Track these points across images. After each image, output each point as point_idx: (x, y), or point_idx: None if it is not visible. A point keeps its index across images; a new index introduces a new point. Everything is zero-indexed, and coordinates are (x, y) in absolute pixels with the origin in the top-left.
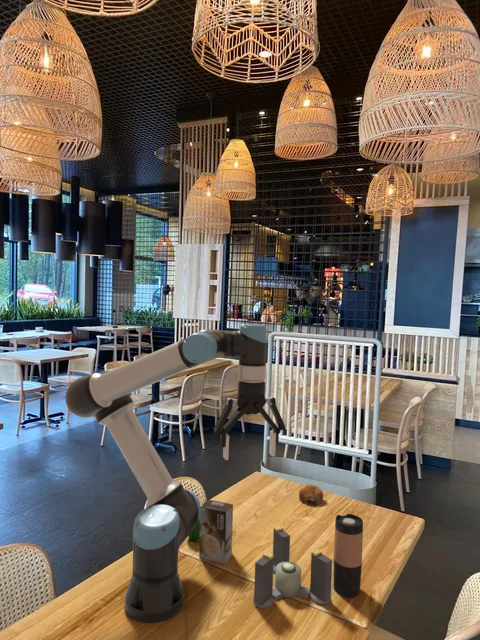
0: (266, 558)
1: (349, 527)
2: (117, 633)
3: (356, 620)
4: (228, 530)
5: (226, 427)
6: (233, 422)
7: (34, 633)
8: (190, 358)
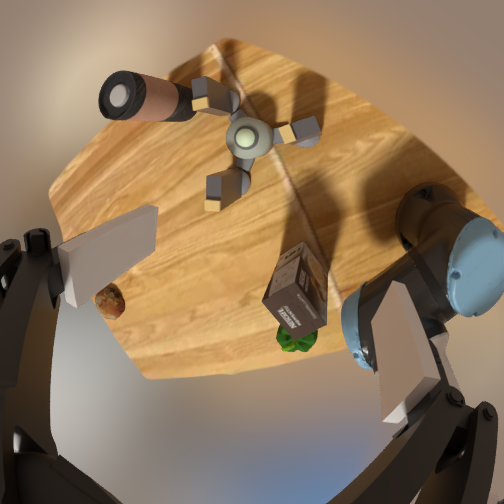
0: (294, 131)
1: (131, 73)
2: (479, 198)
3: (213, 54)
4: (288, 268)
5: (446, 440)
6: (402, 479)
7: None
8: None
